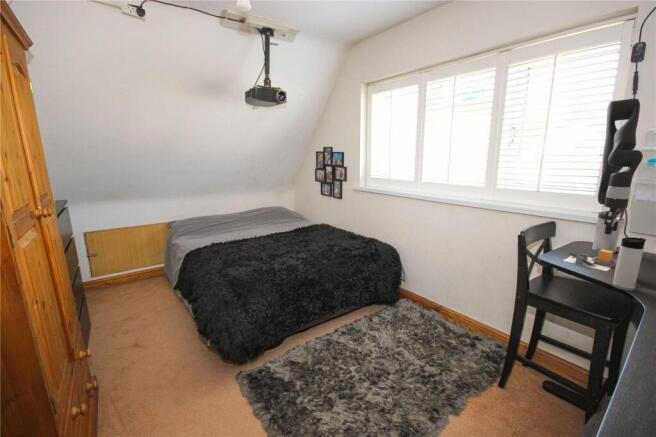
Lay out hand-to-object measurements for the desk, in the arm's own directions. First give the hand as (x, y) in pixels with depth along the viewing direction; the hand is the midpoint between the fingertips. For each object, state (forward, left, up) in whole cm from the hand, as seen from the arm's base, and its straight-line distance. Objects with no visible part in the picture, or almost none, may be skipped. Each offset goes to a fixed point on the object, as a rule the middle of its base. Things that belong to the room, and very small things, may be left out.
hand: (610, 232), depth 139 cm
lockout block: (0, 0, -15) cm, 15 cm away
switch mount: (+7, -7, -15) cm, 18 cm away
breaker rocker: (+7, -7, -13) cm, 16 cm away
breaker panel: (+3, -5, -16) cm, 17 cm away
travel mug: (+23, +11, -16) cm, 30 cm away
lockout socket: (0, 0, -15) cm, 15 cm away
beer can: (+13, +9, -16) cm, 23 cm away
